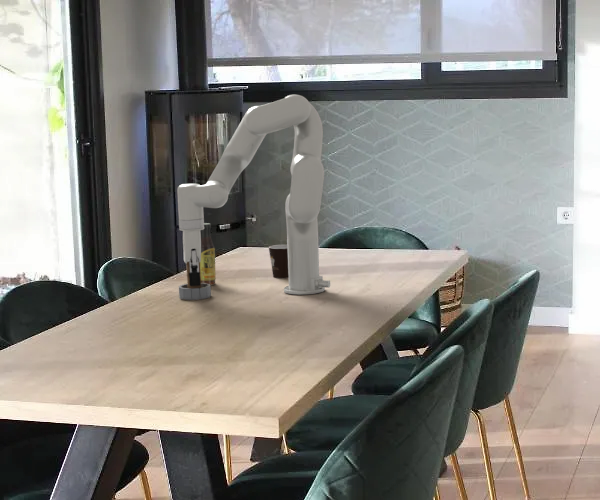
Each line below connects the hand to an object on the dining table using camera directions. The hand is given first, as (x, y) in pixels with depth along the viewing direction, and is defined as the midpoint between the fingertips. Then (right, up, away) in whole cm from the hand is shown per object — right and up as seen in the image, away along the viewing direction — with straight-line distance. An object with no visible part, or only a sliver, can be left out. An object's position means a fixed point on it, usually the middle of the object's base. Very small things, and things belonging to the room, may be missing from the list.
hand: (194, 283), depth 341 cm
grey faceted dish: (0, -4, +1) cm, 4 cm away
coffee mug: (+27, +1, +32) cm, 41 cm away
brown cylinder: (0, -2, 0) cm, 2 cm away
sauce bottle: (+2, -1, +20) cm, 21 cm away
